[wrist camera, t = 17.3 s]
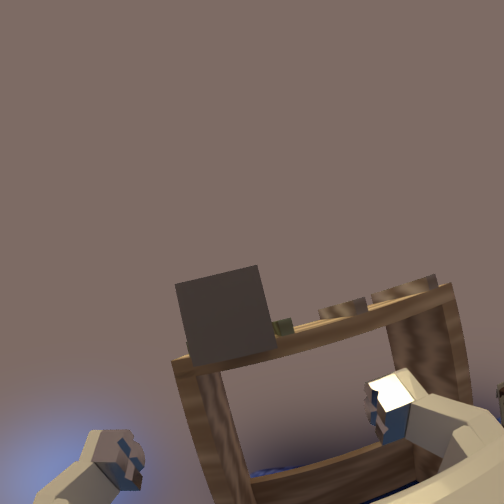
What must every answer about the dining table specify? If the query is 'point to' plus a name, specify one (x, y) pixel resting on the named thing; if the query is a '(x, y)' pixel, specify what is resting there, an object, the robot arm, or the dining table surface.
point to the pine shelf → (356, 462)
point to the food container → (501, 400)
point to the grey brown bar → (225, 316)
